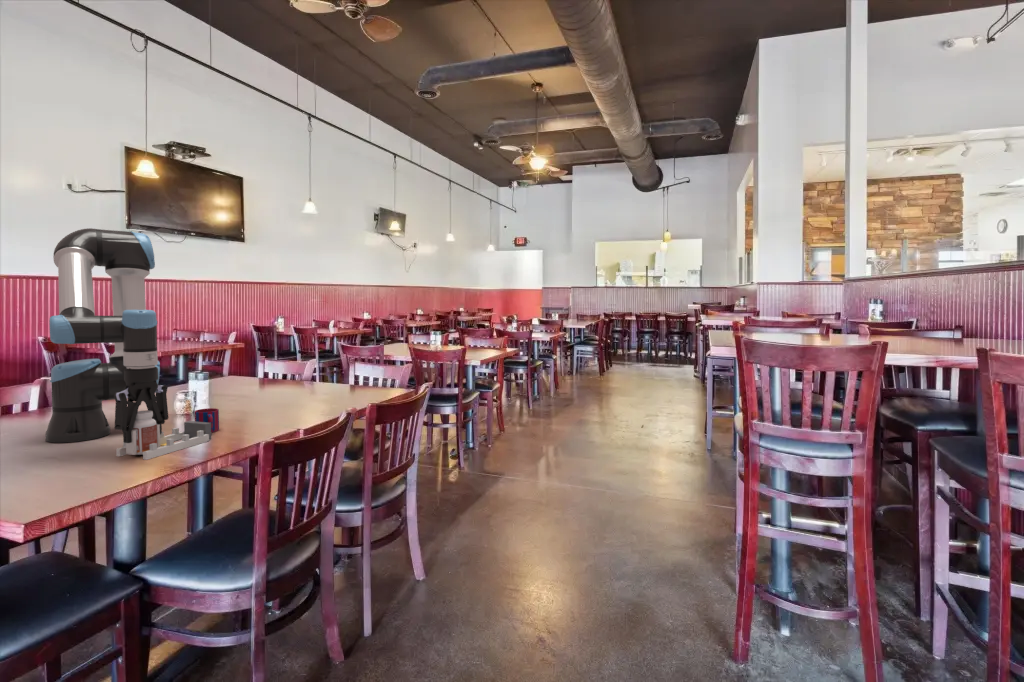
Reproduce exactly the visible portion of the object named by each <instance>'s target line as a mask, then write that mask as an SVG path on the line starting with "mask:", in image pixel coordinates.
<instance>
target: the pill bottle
mask: <svg viewBox="0 0 1024 682" xmlns="http://www.w3.org/2000/svg"><path fill="white" fill-rule="evenodd" d="M152 417H153V411H148V409H147V410H138V412H137V415H136V419H135V423H134V427H133V430H136V447H137V454H136V455H135V456H138V455H139V456H140V455H142V456H143V452H144V451H148V450H150V445H149V444H152V443H157V425H156V421H155V420H154V419H152Z"/></svg>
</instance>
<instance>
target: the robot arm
mask: <svg viewBox="0 0 1024 682" xmlns="http://www.w3.org/2000/svg"><path fill="white" fill-rule="evenodd" d="M52 256H53V258H52V259H53V263H54V265H55V266H56V268H57V270H58V271H57V272H58V273H57V275H58V278H57V279H58V315H52V316H50V317H49V320H48V321H49V322H48V323H49V338H50V339H49V340H50V341H51V343H53V344H56V345H57V344H58V345H60V344H61V345H63V344H64V345H66V344H67V345H78V344H79V345H80V344H84V345H85V344H109V343H110V344H113V343H114V352H113V353H112V354H110V356H109V357H108V358H109V359H108V362H102V361H101V359H100V358H86V359H79V360H72V361H68V362H67V361H66V362H62V363H61V362H60V363H59V364H56V365H54V366H53V367H52V368H51V372H50V380H49V382H50V385H51V410H52V411H51V412H52V413H51V417H50V420H49V423H48V426H47V427H46V431H45V441H46V442H47V443H62V444H63V443H75V442H83V441H90V440H95V439H100V438H102V437H105V436H108V435H109V434H111V425H110V423H109V421H108V419H107V417H106V414H105V412H104V410H103V401H112V400H113V401H114V400H115V409H114V410H115V411H114V412H115V413H114V415H115V416H114V430H117V431H118V430H119V431H122V432H123V433H122V436H123V437H122V440H123V441H124V443H126V454H127V455H129V456H132V455H133V456H137V455H136V454H137V447H136V430H133V427H134V423H135V419H136V415H137V412H138V411H139V408H140V406H141V405H142V402H143V403H145V405H146V408H147V410H148V411H153V417H152V419H154V420H155V421H156V425H157V448H159V447H161V446H160V435H161V433H162V432H163V431H162V427H163V426H162V425H164V424H165V422H166V421H168V420H169V411H168V410H169V409H168V398H167V392H168V386H167V385H161V384H159V381H160V374H161V373H160V372H161V367H160V365H161V363H160V360H158V357H159V356H158V328H157V327H158V320H157V312H156V311H155V310H152V309H147V306H146V305H147V304H146V285H145V278H146V277H148V276H149V275H150V274H151V273H150V271H151V270H153V269H155V267H156V264H155V263H156V262H155V253H154V248H153V244H152V240H151V238H150V236H149V235H147V234H146V233H143V232H141V233H140V232H134V231H126V230H114V229H113V230H110V229H99V228H92V227H91V228H82V229H81V228H80V229H78V230H75V231H73V232H71V233H69V234H67V235H65V236H64V237H63V238H62V239H61V240H60V241H59V242H57V245H56V246H55V247H54V250H53V255H52ZM96 266H97V267H104V269H105V270H104V271H105V273H106V274H107V275H108V276H109V277H110V278H111V290H112V291H111V292H112V294H111V295H112V313H113V314H112V315H96V313H95V311H96V310H95V299H94V286H93V272H92V270H93V268H94V267H96ZM123 441H122V442H123Z"/></svg>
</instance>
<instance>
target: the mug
mask: <svg viewBox="0 0 1024 682" xmlns="http://www.w3.org/2000/svg"><path fill="white" fill-rule="evenodd" d="M194 421H196V422H207V423H211V434H212V433H215V432H218V431H219V430H220V411H219V408H216V407H215V408H214V407H212V408H211V407H210V408H200V409H196V410H194Z"/></svg>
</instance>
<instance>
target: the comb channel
mask: <svg viewBox="0 0 1024 682" xmlns="http://www.w3.org/2000/svg"><path fill="white" fill-rule="evenodd" d="M183 425H184V428H183V429H184V431H180V428H178V427H174V428H171V433H172V434H171V433H169V434H168V435H165V432H164V431H162V433H161V435H160V447H159V448H157V443H152V444H149V445H150V450H148V451H144V452H143V454H142V459H143V460H144V461H145V460H150V459H151V460H152V459H154V458H158V457H161V456H164V455H167V454H170V453H175V452H177V451H180V450H184V449H187V448H190V447H191V448H192V447H194V446H197V445H200V444H204V443H207V442H209V441H210V440H212V433H211V423H207V422H196V421H195V420H188V421H184V422H183ZM115 451H116V453H115V455H116V457H122V456H127V455H128V454H126V443H124V441H122V447H118V448H116V449H115Z"/></svg>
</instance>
